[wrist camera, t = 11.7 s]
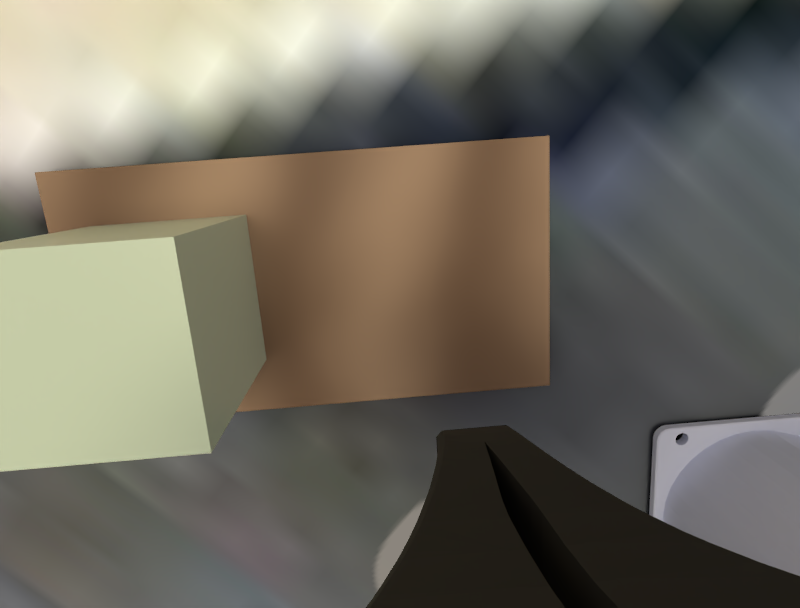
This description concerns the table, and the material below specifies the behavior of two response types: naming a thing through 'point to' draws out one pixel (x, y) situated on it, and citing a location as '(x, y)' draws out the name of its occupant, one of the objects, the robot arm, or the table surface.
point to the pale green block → (125, 341)
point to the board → (365, 260)
